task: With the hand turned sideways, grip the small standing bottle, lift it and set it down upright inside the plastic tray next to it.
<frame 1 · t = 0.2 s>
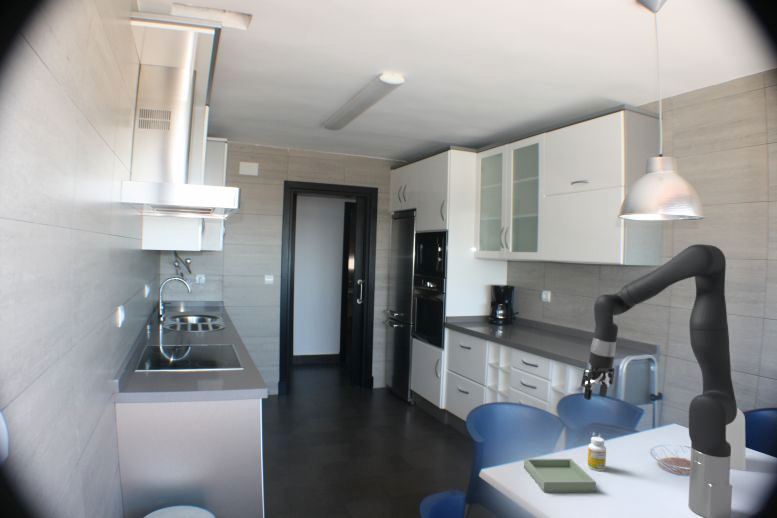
hand: (594, 397, 163), 22 cm above the table, tool pointing down, fingers open, 8 cm apart
supplement bottle: (596, 468, 159), on the table
milk: (718, 461, 168), on the table
tray: (557, 479, 150), on the table
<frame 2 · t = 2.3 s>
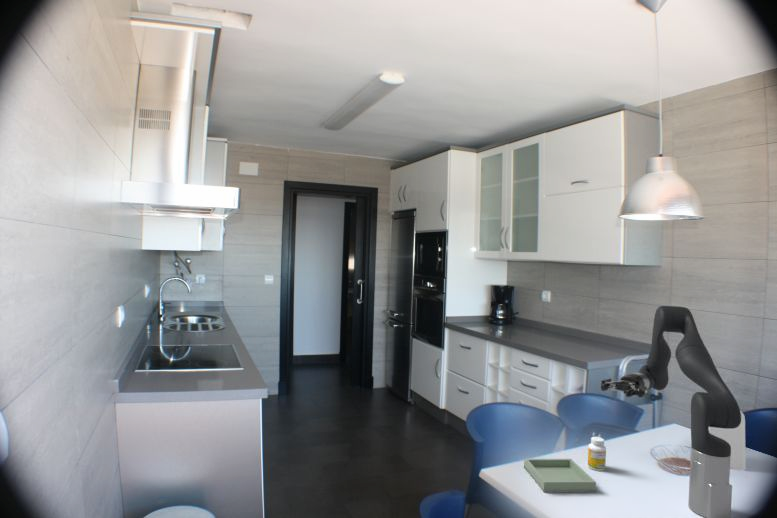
hand: (614, 390, 166), 24 cm above the table, tool horizontal, fingers open, 8 cm apart
nothing on the table moved.
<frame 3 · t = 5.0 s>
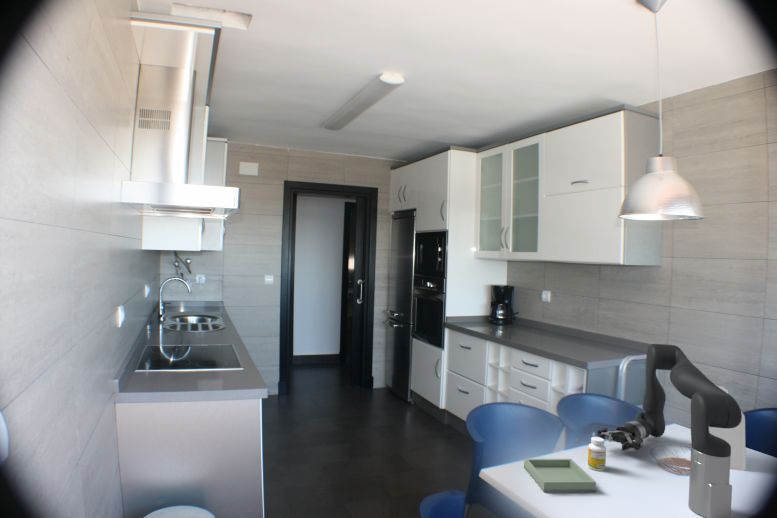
hand: (610, 443, 165), 6 cm above the table, tool horizontal, fingers open, 8 cm apart
nothing on the table moved.
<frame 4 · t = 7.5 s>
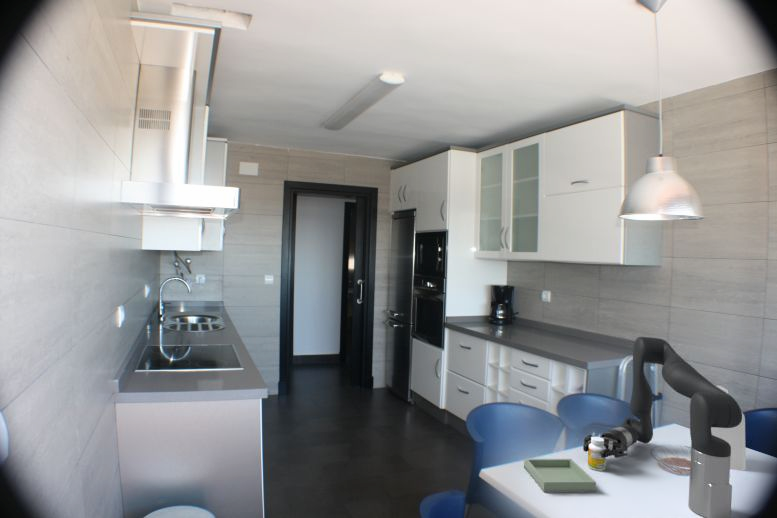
hand: (593, 451, 157), 6 cm above the table, tool horizontal, fingers closed on supplement bottle, 5 cm apart
supplement bottle: (596, 468, 159), on the table, touching gripper
everything else where it was.
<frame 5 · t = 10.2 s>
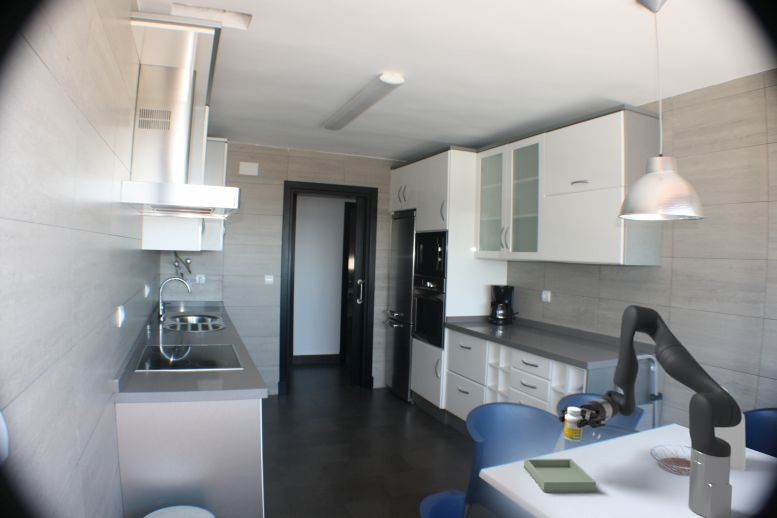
hand: (569, 421, 151), 18 cm above the table, tool horizontal, fingers closed on supplement bottle, 5 cm apart
supplement bottle: (572, 439, 153), point 11 cm above the table, touching gripper
everything else where it was.
when the fingers open (8 cm above the table, at t = 13.1 s): supplement bottle drops 1 cm, resting on tray.
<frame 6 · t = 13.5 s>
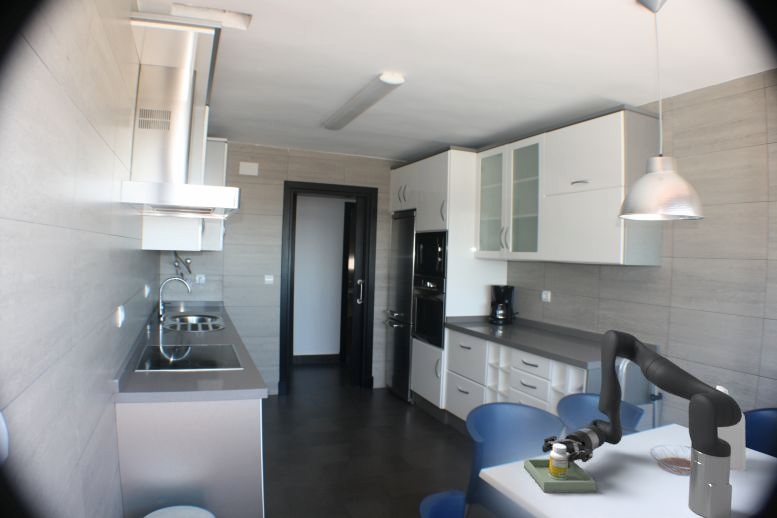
hand: (555, 454, 148), 8 cm above the table, tool horizontal, fingers open, 8 cm apart
supplement bottle: (557, 477, 150), point 1 cm above the table, touching tray
everything else where it was.
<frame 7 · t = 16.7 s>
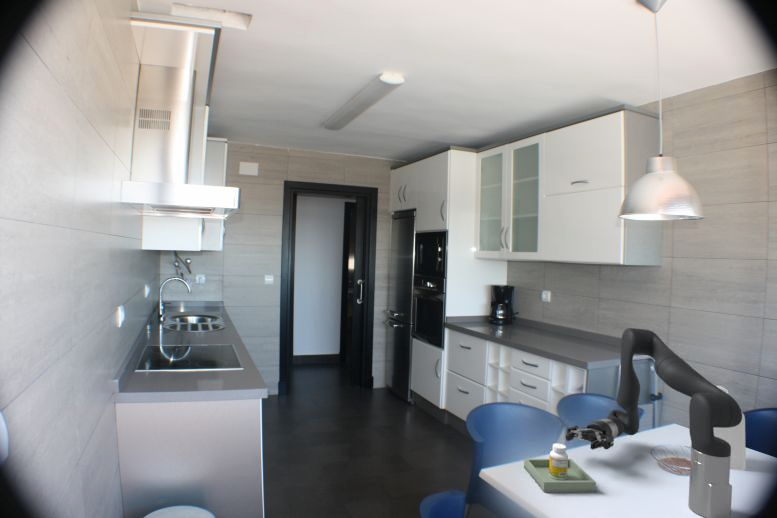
hand: (579, 441, 157), 9 cm above the table, tool horizontal, fingers open, 8 cm apart
nothing on the table moved.
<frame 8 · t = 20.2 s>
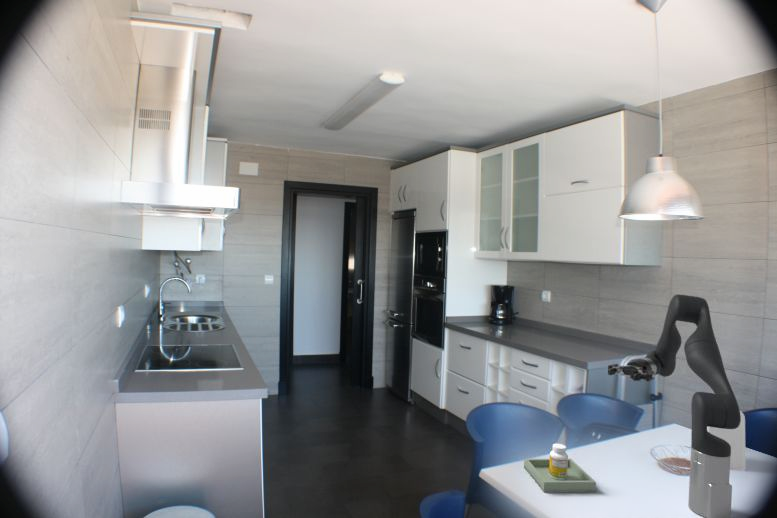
hand: (621, 375, 164), 30 cm above the table, tool horizontal, fingers open, 8 cm apart
nothing on the table moved.
at the end: supplement bottle inside the target area on the tray (0.2 cm from its centre), point 0.6 cm above the tray's base; supplement bottle tilted 0°; the gripper is holding nothing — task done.
